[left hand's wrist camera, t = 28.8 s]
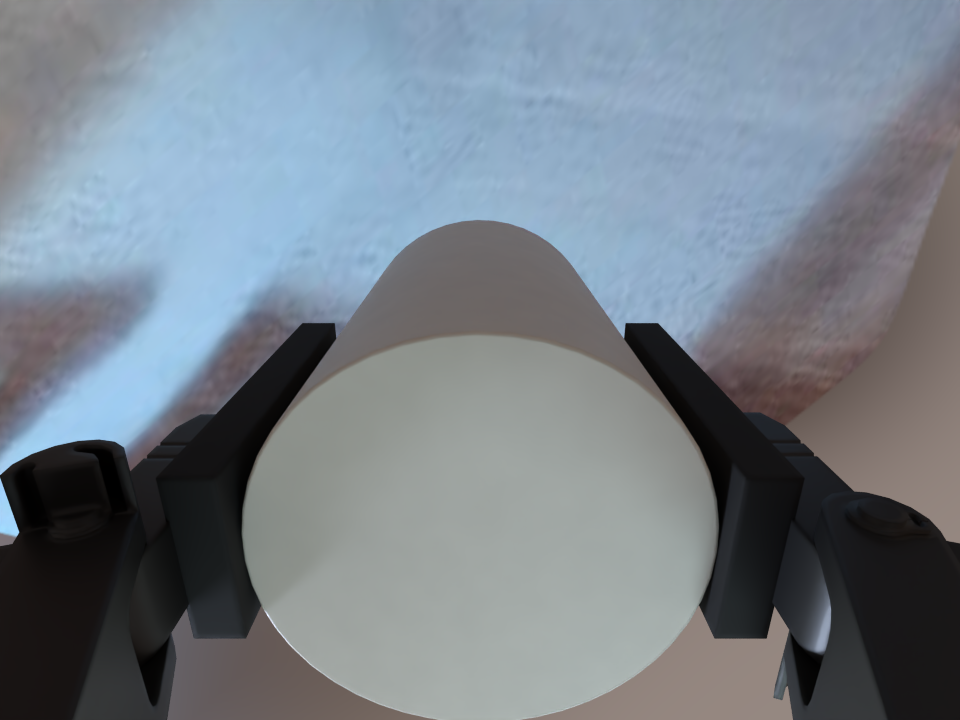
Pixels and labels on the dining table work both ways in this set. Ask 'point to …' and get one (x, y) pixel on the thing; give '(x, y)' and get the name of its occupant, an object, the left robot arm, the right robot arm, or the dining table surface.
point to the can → (480, 492)
